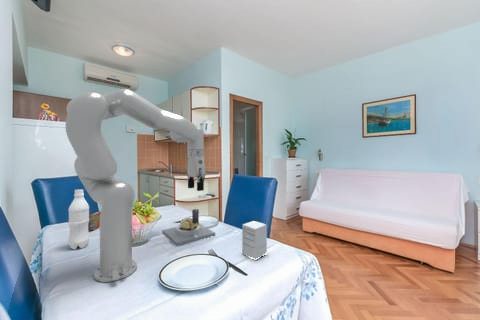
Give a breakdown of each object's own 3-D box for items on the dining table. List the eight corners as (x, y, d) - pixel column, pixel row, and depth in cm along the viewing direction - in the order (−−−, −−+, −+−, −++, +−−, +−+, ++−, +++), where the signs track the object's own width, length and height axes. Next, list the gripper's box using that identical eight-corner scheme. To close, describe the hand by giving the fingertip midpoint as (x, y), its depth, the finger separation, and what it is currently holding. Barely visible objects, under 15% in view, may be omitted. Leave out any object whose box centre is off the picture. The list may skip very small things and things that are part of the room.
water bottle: (67, 247, 89) (67, 189, 89) (87, 242, 95) (87, 188, 94) (70, 252, 85) (69, 191, 84) (91, 246, 90) (91, 189, 89)
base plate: (215, 235, 103) (215, 228, 103) (176, 246, 91) (176, 238, 91) (197, 225, 119) (197, 219, 119) (162, 232, 107) (162, 226, 107)
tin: (90, 232, 107) (90, 216, 107) (84, 232, 107) (84, 216, 107) (108, 223, 122) (108, 209, 122) (103, 223, 122) (103, 209, 122)
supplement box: (253, 249, 89) (253, 220, 89) (267, 255, 84) (267, 224, 83) (241, 254, 84) (241, 224, 83) (255, 261, 78) (255, 228, 78)
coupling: (203, 234, 100) (203, 209, 100) (190, 238, 96) (190, 211, 95) (190, 226, 111) (190, 204, 111) (178, 229, 107) (178, 205, 107)
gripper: (211, 153, 94) (211, 190, 94) (194, 153, 107) (194, 186, 108) (196, 153, 89) (196, 192, 90) (180, 153, 103) (180, 187, 103)
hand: (195, 189), depth 99 cm, fingers open, 9 cm apart
